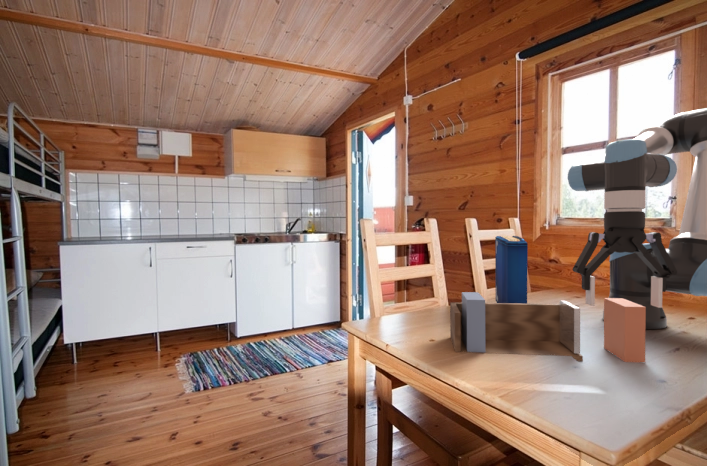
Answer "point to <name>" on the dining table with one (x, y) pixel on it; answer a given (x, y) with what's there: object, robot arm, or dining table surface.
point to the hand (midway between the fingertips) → (622, 305)
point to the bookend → (570, 326)
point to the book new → (624, 329)
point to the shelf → (515, 329)
